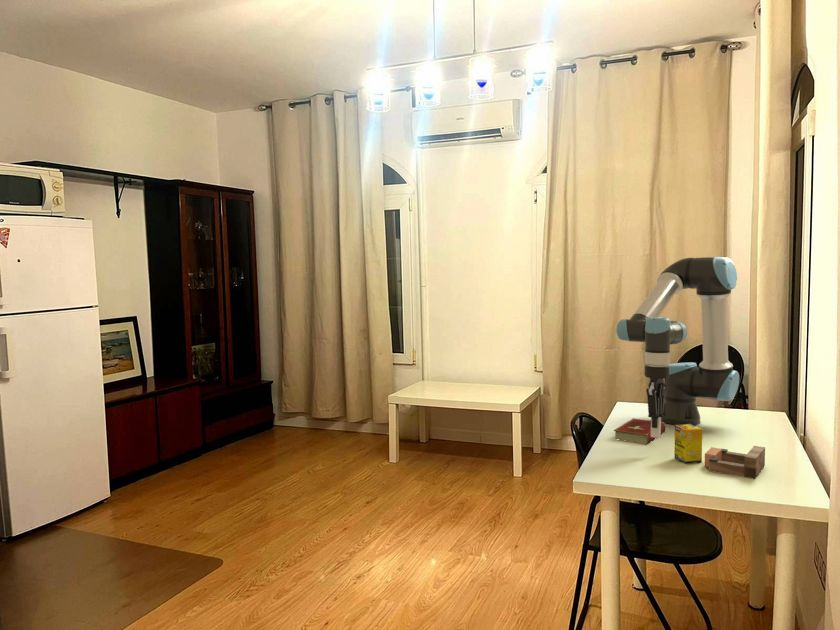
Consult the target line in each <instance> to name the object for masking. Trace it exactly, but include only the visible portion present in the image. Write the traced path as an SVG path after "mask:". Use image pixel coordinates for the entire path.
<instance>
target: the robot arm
mask: <svg viewBox="0 0 840 630" xmlns="http://www.w3.org/2000/svg"><path fill="white" fill-rule="evenodd" d="M737 281H738V273H737V269H736V265H735V263H734V262H733V260H732V259H731V258H729V257H724V256H723V257H722V256H705V257H703V256H702V257H685V258H682V259H678V260H677V261H674V263H673V262H672V264H670V265H669V266H667V267H666V268H665V269H664V270H663V271H662V272H661V273H660V274H659V275H658V277H657V279H656V283H655V285H654V287H653V288H652V289H651V291H650V292H649V293H648V294H647V296H646V297H645V298H644V300H643V301H642V302H641V304H640V305H639V306H638V307H637V309H636V310H635V312H634V313H633V314H632V316H631V317H630V318H629V319H628V318H624V319H620V320H619V321H618V322H617V324H616V335H617V338H618V339H619V340H620V341H626V342H629V343H630V342H633V343H634V342H635V343H637V342H638V343H645V345H644V354H643V357H644V364H645V365H644V377H646V378H649V383H648V388H646V390H645V391H646V396H647V409H648V416H647V418H650V421H651V437H654V438H656V439H660V438H661V435H662V434H661V422H664V423H665V424H668V425H674V426H675V425H687V424H691V425H693V426H696V425H699V424H701V415H700V411H699V409H698V408H699V407H698V406H697V398H699V399H708V400H714V401H723V402H724V401H725V402H730V401H731V400H732V399H734V398H735V396H736V394H737V392H738V388H739V385H740V373H739V372H738V371H737V370H734V365H733V363H732V362H730V360H729V350H728V349H729V344H728V343H729V341H728V340H729V337H728V336H729V335H728V333H729V332H728V307H727V306H728V301H727V298H728V297H729V296H730V295H732V290H733V289H735V288H736V286H737ZM686 289H687V290H688V289H691V290H692V289H695V290H696V296H698V298H700V301H701V302H700V304H701V305H700V306H701V331H702V332H701V334H702V337H701V338H702V339H701V340H702V361H701V362H700V363H699V365H697V362H692V361H691V362H676V363H671V358H670V356H671V355H670V354H671V352H670V351H671V348H670V346H671V345H677V344H679V343H681V342H683V341H685V340H686V338H687V336H688V329H687V327H686V325H685V324H684V323H683V322H681V321H679V320H671V319H670V318H669V317H667V316H666V317H665V316H664V317H663V316H661V314H662V313H663V312H664V310H665V309H666V307H667V306H668V304H669V303H670V302H671V301H672V299H673V298H674V297H675V295H677V294H679V293H680V292H682V290H686Z"/></svg>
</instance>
